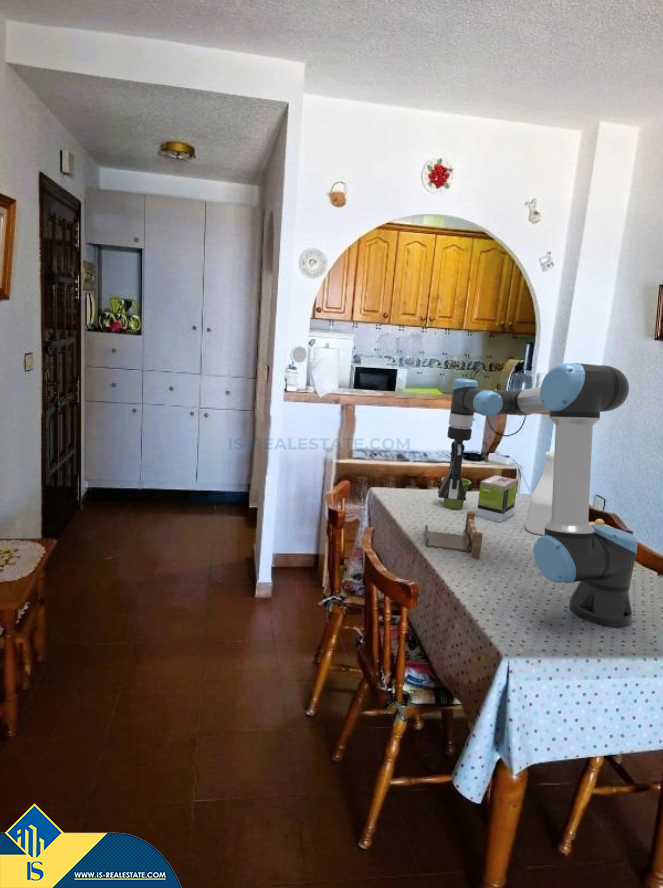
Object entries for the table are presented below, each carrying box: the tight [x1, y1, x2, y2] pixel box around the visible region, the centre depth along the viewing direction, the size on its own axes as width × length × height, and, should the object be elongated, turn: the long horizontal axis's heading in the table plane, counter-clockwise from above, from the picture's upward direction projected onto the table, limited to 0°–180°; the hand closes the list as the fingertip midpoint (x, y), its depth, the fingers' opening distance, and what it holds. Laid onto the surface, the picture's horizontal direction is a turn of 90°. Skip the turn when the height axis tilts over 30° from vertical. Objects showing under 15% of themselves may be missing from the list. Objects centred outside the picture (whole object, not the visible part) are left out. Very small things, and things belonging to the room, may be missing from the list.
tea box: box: [476, 474, 519, 523], centre depth 240 cm, size 15×10×15 cm
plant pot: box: [441, 476, 472, 510], centre depth 248 cm, size 12×12×11 cm
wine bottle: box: [525, 450, 554, 536], centre depth 223 cm, size 10×10×30 cm
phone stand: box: [437, 461, 467, 502], centre depth 202 cm, size 9×6×12 cm, turn 82°
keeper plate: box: [424, 524, 470, 553], centre depth 206 cm, size 14×14×3 cm
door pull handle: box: [464, 511, 483, 560], centre depth 205 cm, size 25×2×8 cm, turn 173°
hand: (451, 495), depth 203 cm, fingers closed on phone stand, 6 cm apart
